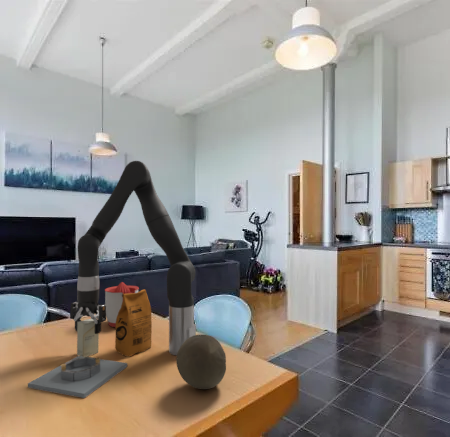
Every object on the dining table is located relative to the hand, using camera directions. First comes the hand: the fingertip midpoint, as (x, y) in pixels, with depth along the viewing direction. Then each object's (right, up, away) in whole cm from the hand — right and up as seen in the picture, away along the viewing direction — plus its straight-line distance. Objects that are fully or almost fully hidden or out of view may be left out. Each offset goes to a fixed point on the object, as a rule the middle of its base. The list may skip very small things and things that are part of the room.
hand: (87, 332), depth 117 cm
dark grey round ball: (+44, -8, -25) cm, 51 cm away
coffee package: (+16, -8, +3) cm, 18 cm away
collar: (+6, -6, -18) cm, 20 cm away
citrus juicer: (+2, -9, +33) cm, 35 cm away
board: (+6, -8, -18) cm, 20 cm away
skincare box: (0, -8, 0) cm, 8 cm away
